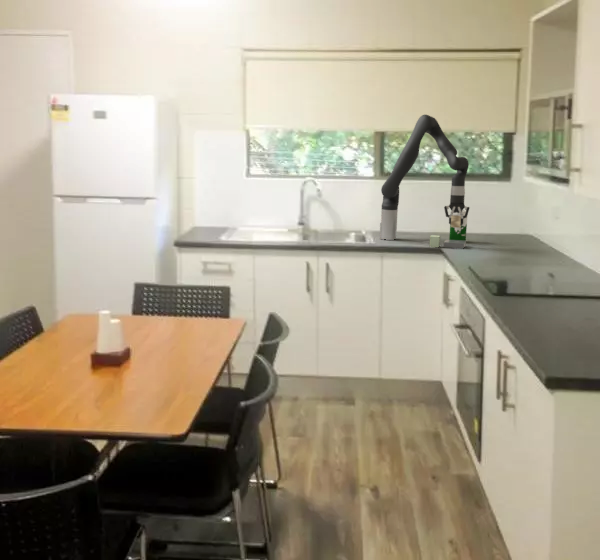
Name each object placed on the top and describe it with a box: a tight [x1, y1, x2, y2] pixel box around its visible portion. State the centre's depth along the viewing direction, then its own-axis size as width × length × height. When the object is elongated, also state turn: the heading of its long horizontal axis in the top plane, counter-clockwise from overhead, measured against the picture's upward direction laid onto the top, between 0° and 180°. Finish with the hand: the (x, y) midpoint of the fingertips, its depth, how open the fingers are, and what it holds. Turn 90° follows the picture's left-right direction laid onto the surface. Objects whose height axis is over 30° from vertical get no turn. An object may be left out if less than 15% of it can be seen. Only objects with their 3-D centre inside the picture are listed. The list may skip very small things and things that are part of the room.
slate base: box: [443, 239, 467, 249], centre depth 464 cm, size 11×11×3 cm
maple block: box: [451, 215, 461, 228], centre depth 461 cm, size 5×5×6 cm
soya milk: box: [448, 209, 468, 242], centre depth 481 cm, size 9×9×20 cm
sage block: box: [429, 234, 441, 248], centre depth 462 cm, size 5×5×6 cm
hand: (455, 225), depth 462 cm, fingers closed on maple block, 5 cm apart
